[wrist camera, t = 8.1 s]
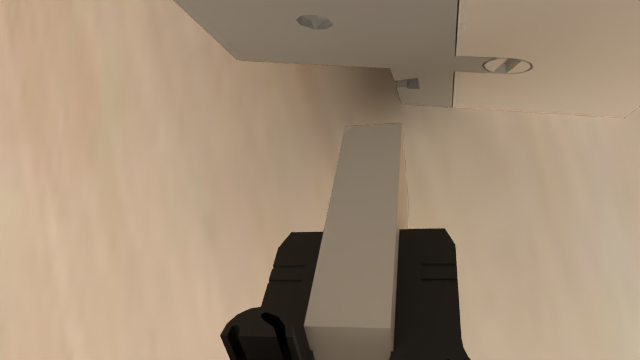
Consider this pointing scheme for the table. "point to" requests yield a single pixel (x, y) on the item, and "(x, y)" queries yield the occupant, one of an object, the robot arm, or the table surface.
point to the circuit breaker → (452, 47)
